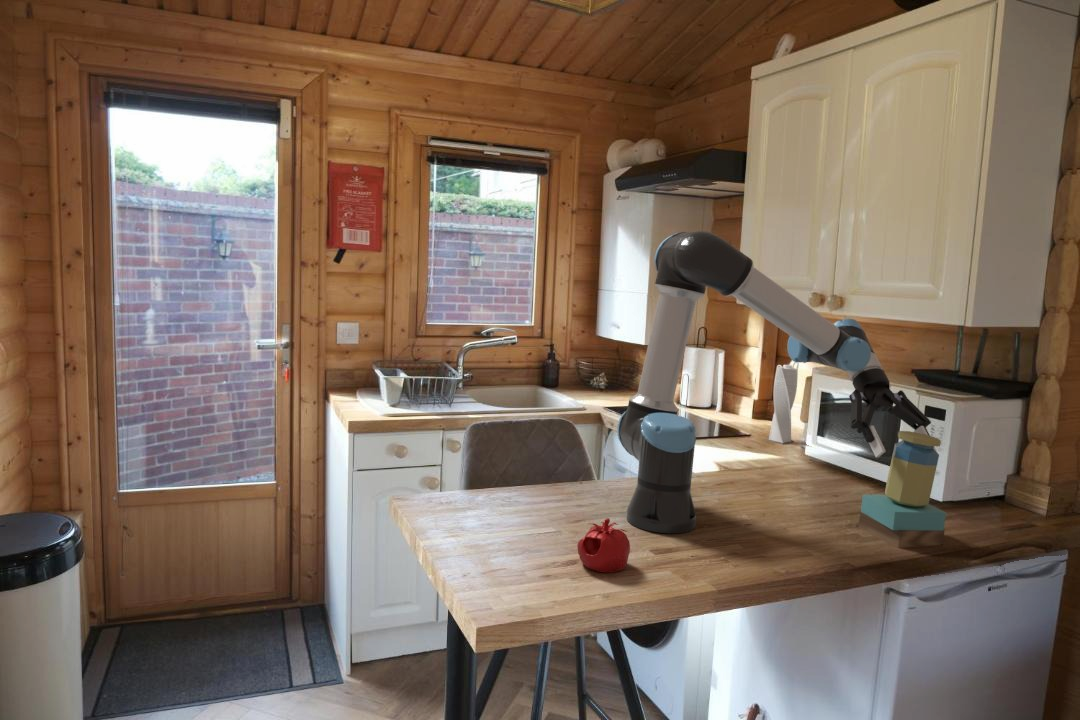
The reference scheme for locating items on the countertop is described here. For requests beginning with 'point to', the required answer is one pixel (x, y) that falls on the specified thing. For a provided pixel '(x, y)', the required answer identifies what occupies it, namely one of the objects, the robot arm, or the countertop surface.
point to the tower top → (902, 514)
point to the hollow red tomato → (604, 548)
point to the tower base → (900, 534)
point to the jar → (912, 469)
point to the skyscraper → (783, 403)
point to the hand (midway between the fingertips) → (906, 454)
